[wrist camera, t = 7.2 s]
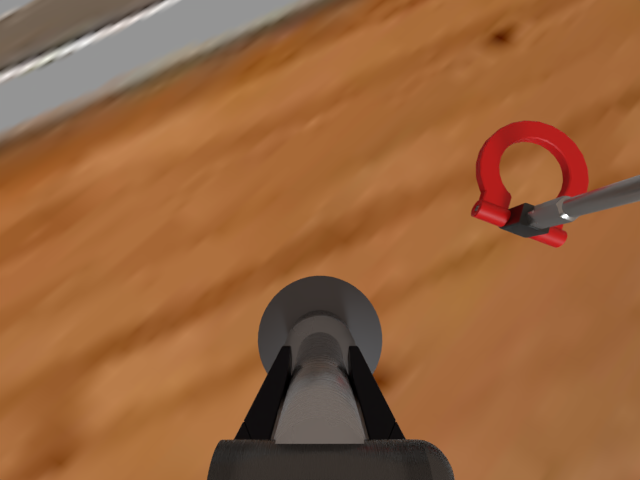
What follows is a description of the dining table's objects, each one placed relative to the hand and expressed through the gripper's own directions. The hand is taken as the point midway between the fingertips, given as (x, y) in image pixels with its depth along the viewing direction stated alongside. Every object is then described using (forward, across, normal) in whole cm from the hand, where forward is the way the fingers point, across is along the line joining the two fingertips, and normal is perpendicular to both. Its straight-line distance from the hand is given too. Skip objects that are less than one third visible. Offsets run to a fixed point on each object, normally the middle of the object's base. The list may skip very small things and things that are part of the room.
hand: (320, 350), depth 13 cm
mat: (+5, 0, +7) cm, 9 cm away
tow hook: (+14, -16, -1) cm, 21 cm away
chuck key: (+4, 0, +6) cm, 7 cm away
